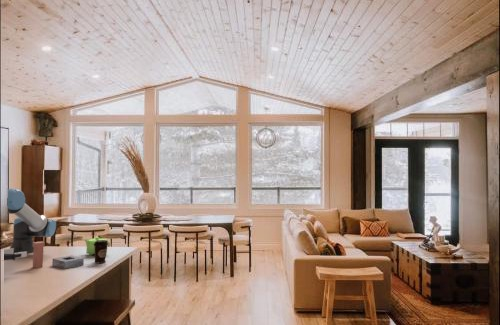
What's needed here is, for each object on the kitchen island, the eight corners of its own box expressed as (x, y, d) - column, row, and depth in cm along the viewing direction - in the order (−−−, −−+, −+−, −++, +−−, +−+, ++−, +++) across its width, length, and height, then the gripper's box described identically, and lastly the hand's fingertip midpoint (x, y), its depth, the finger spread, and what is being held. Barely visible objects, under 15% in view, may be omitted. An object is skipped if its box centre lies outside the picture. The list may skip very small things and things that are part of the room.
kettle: (89, 257, 255) (90, 240, 255) (80, 253, 265) (81, 237, 265) (111, 254, 265) (112, 237, 266) (102, 251, 275) (102, 235, 276)
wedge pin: (31, 267, 225) (32, 242, 226) (40, 265, 230) (41, 241, 230) (35, 268, 224) (36, 243, 224) (43, 266, 228) (44, 242, 228)
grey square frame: (52, 265, 231) (52, 258, 231) (71, 261, 241) (71, 255, 241) (64, 268, 225) (64, 261, 225) (83, 265, 235) (83, 258, 235)
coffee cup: (110, 261, 246) (111, 240, 246) (101, 264, 238) (102, 242, 238) (99, 260, 249) (100, 239, 249) (89, 262, 241) (90, 241, 241)
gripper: (-36, 262, 207) (7, 256, 225) (-12, 269, 194) (31, 262, 212) (-35, 247, 208) (8, 242, 225) (-11, 254, 194) (32, 248, 212)
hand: (19, 252), depth 219 cm, fingers open, 13 cm apart
